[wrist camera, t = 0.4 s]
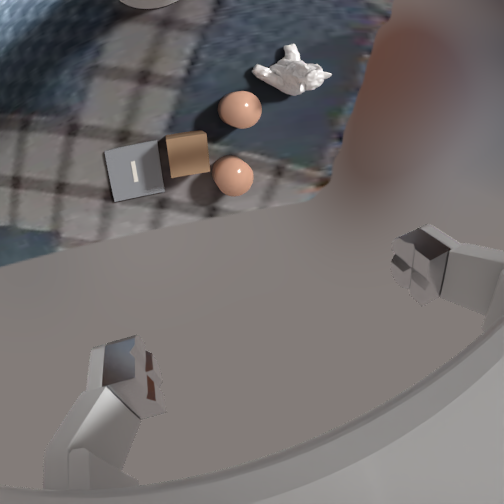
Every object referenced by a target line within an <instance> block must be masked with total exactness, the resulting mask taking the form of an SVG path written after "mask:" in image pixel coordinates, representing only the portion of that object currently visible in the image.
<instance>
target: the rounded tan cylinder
mask: <svg viewBox="0 0 504 504" xmlns="http://www.w3.org/2000/svg"><path fill="white" fill-rule="evenodd" d="M261 112H262V107H261V103H260V101H259V99H258V98H257V97H256V96H255V95H254V94H252V93H250V92H247V91H239V92H231V93H228V94H226V95H225V96H224V97H223V98H222V99H221V100H220V102H219V104H218V114H219V117H220V118H221V120H222V121H223V122H224V123H226V124H228V125H231V126H234V127H236V128H248V127H251V126H253V125H254V124H255V123H256V122H257V121H258V120H259V118H260V116H261Z"/></svg>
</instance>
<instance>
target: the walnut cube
mask: <svg viewBox="0 0 504 504" xmlns="http://www.w3.org/2000/svg"><path fill="white" fill-rule="evenodd" d="M166 143H167V150H168V158H169V165H170V172H171V178H175V177H181V176H186V175H192V174H198V173H205V172H210V164H209V154H208V144H207V134H206V133H205V132H204V131H202V130H197V131H190V132H184V133H177V134H171V135H166Z"/></svg>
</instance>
